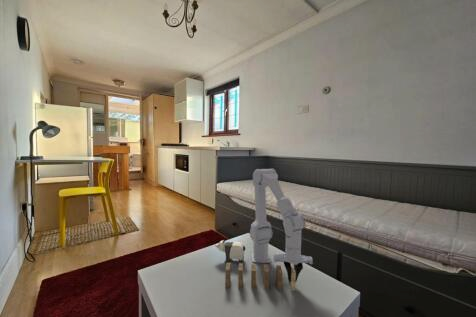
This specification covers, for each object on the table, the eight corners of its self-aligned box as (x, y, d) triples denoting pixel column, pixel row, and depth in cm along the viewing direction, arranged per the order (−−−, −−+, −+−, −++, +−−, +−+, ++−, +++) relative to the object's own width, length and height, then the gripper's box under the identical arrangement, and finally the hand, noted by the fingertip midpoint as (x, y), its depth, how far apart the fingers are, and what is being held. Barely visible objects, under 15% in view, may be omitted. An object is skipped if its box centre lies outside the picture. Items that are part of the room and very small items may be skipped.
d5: (276, 282, 80) (276, 265, 79) (280, 282, 80) (280, 265, 79) (277, 289, 75) (278, 272, 75) (281, 290, 75) (282, 272, 75)
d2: (238, 280, 80) (239, 263, 80) (242, 280, 80) (242, 263, 80) (238, 287, 76) (238, 270, 76) (242, 287, 76) (242, 270, 76)
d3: (251, 280, 80) (251, 264, 80) (255, 281, 80) (255, 264, 80) (251, 288, 76) (251, 270, 75) (255, 288, 76) (255, 270, 75)
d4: (263, 281, 80) (263, 264, 80) (267, 281, 80) (267, 264, 80) (264, 289, 76) (264, 271, 75) (268, 289, 76) (269, 271, 75)
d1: (226, 279, 81) (226, 262, 80) (230, 279, 81) (230, 262, 80) (225, 287, 76) (225, 269, 76) (229, 287, 76) (229, 269, 76)
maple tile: (288, 282, 79) (289, 265, 79) (292, 282, 79) (293, 265, 79) (291, 290, 75) (291, 272, 75) (295, 290, 75) (295, 272, 75)
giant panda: (246, 259, 96) (246, 239, 95) (244, 265, 90) (244, 245, 90) (217, 255, 99) (217, 236, 98) (213, 261, 93) (213, 241, 93)
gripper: (275, 250, 73) (274, 286, 73) (315, 252, 72) (314, 288, 73) (273, 241, 80) (272, 274, 80) (309, 242, 79) (308, 276, 80)
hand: (292, 280), depth 77 cm, fingers closed on maple tile, 2 cm apart
